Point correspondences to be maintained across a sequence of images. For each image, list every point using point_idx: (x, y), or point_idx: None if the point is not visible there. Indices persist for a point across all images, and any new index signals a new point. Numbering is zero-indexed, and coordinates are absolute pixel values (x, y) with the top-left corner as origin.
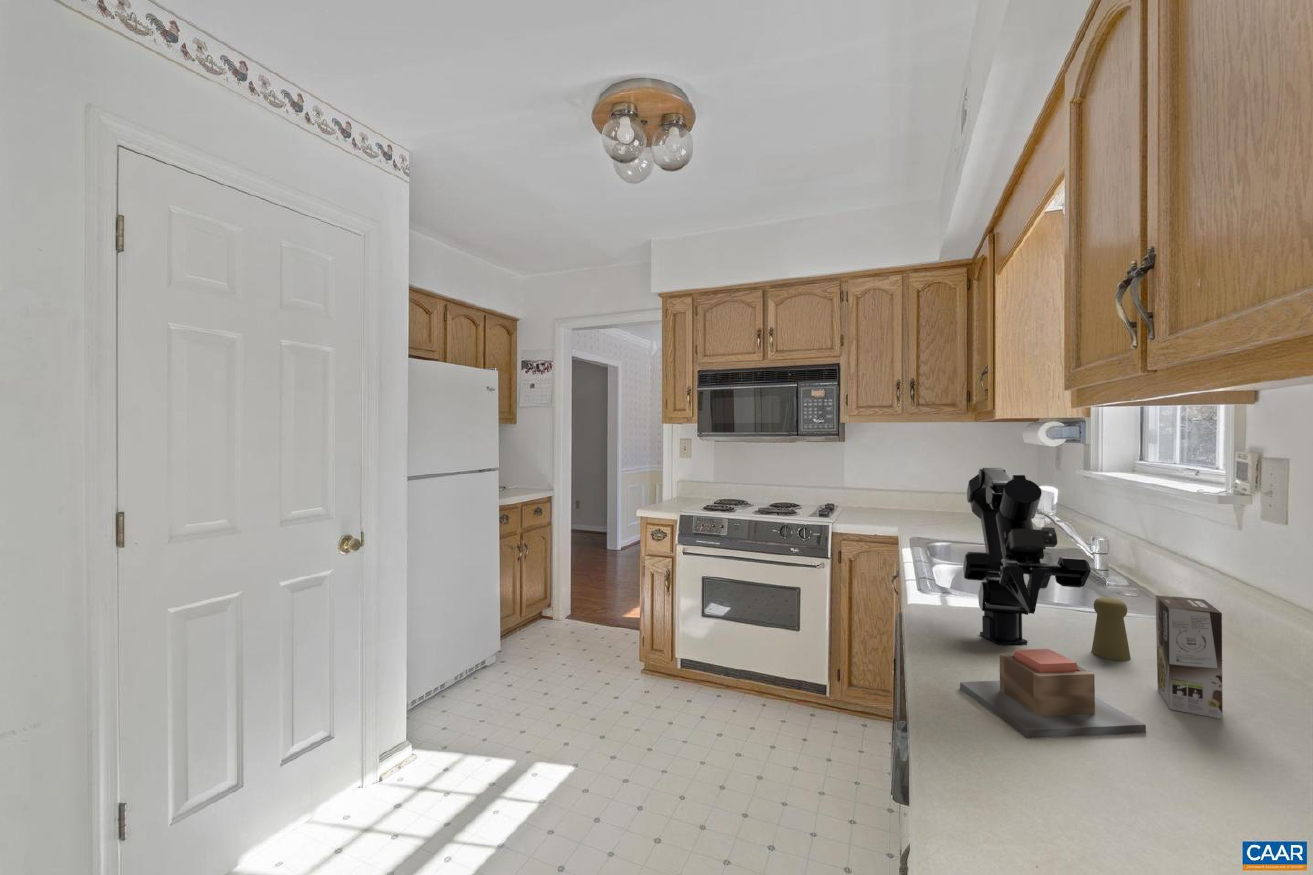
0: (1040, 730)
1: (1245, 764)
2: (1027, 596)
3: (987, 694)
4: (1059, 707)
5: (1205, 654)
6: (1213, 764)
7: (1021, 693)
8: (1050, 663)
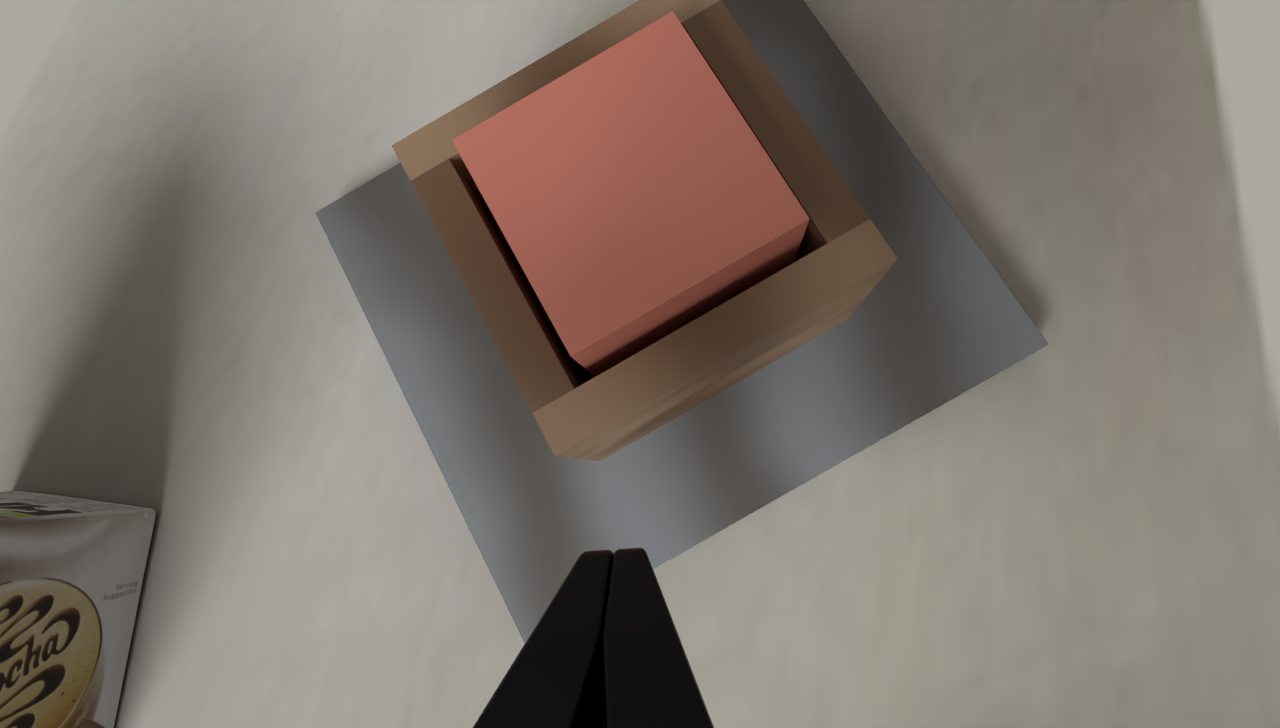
0: None
1: (127, 122)
2: (632, 710)
3: (908, 237)
4: None
5: None
6: (220, 76)
7: None
8: (612, 48)
